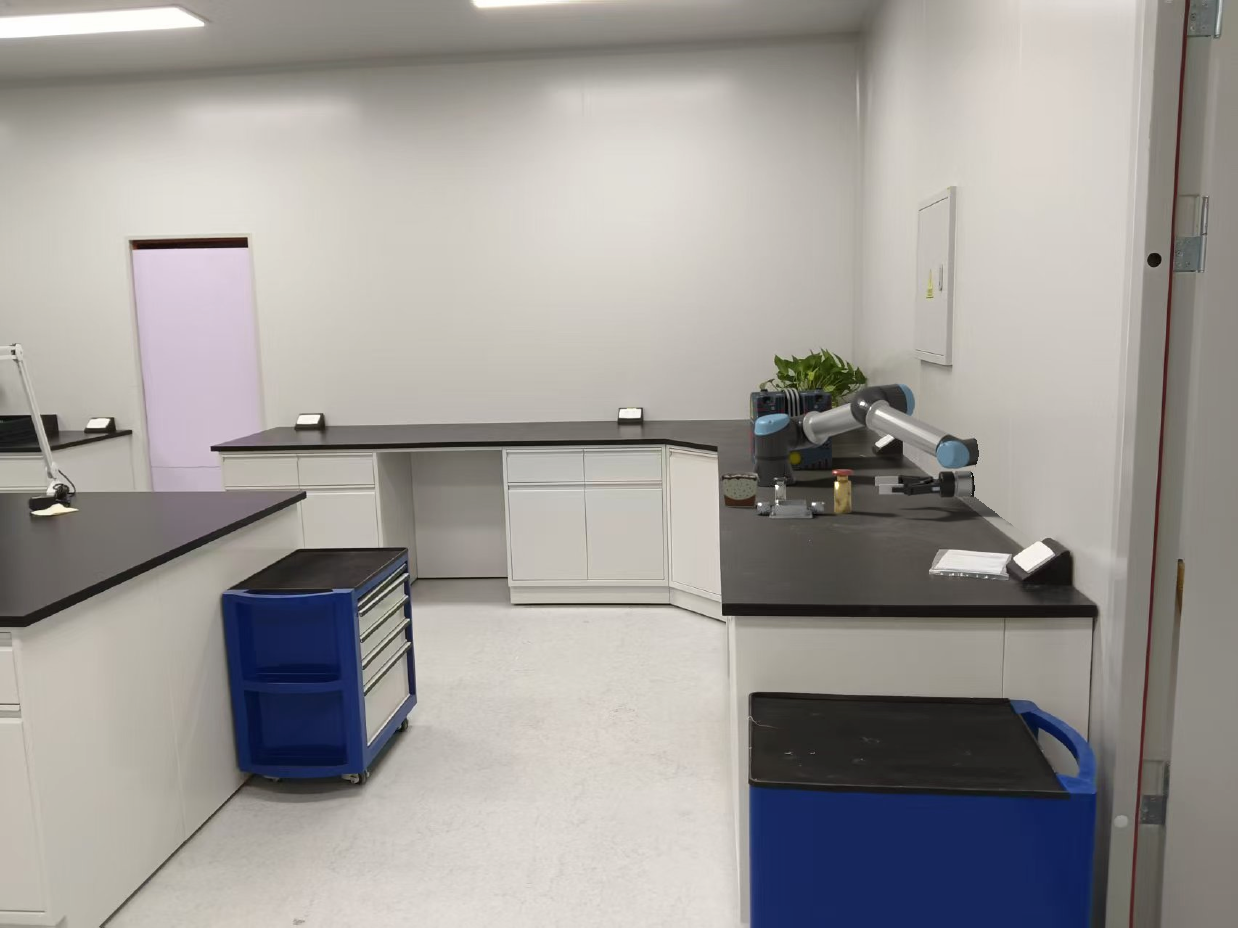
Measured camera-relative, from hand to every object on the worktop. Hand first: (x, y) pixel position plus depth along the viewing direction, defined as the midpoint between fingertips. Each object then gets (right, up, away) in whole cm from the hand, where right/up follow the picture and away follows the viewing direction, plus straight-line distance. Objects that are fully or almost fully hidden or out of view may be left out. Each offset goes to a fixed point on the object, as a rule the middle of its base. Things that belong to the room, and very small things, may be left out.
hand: (877, 485), depth 282 cm
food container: (-37, -7, +19) cm, 42 cm away
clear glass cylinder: (-25, -7, +16) cm, 31 cm away
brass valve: (-9, -8, +3) cm, 13 cm away
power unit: (-8, +6, +96) cm, 96 cm away
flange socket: (-25, -9, +3) cm, 26 cm away
